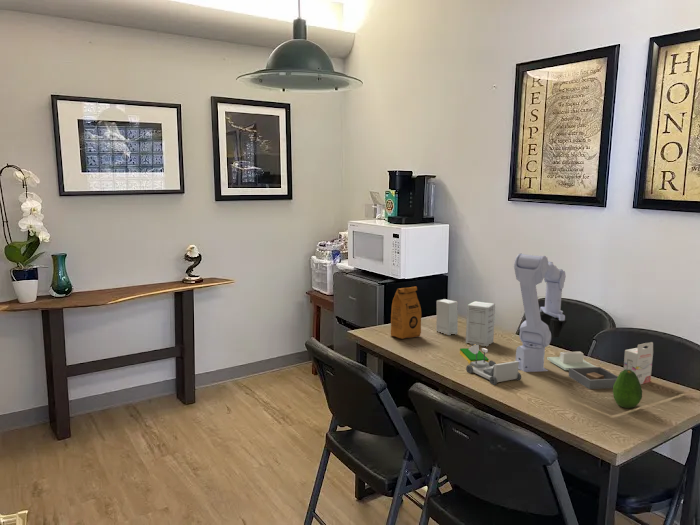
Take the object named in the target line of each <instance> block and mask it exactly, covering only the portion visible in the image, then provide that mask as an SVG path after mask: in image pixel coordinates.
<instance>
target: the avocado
mask: <svg viewBox="0 0 700 525" xmlns="http://www.w3.org/2000/svg"><path fill="white" fill-rule="evenodd" d="M617 376H618V377H617V380H616V381H615V383H614V385H613V388H612V394H613V399H614V401H615V403H616V404H617V405H618V407H619V406H620V408H621V407H622V408H625V409H631V408H635V407H636V406H637V405H638V404H639V403H640V402H641V400H642V398H643V389H642V384H640V382H639V379H638V377H637V376H636V374H635V373H634V372H633V371H631V370H628V369H625V370H621V371H620V372H619V374H618V375H617Z"/></svg>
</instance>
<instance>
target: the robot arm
mask: <svg viewBox="0 0 700 525" xmlns="http://www.w3.org/2000/svg"><path fill="white" fill-rule="evenodd" d="M513 268H514V274H515V279H516V280H517V281H518V282H519V285H520V292H521V298H522V299H521V300H522V304H523V305H522V306H523V311H524V315H525V320H524V321H523V322H522V323H521V324H520V326H519V339H520V342H521V343H522V345H519V346H517V347H516V350H515V361H518V362H519V365H518V370H519V371H523V372H524V373H528V372H529V373H532V372H535V373H536V372H548V371H549V369H547V368H545V367H544V366H545V365H544V364H545V351H546V350H545V349H546V347H548V346H549V345H550V344H551V341H552V338H559V337H560V335H561V333H562V329H563V328H564V326H565V324H566V323H567V319H566V315H565V314H563V313H564V311H563V310H561V307H562V296H563V295H562V294H563V293H562V292H563V288H564V286H565V282H566V271H565V270H563V269H560V268H558V267H557V266H556V265H554V262H553V261H549V260H548V257H547V256H546V255H534V254H524V253H518V254H517V255H516V256H515V259H514V264H513ZM543 280H544V283H546V285H545V296H544V297H545V298H544V306H540V304H539V296H538V291H537V290H538V289H537V285H540V284H542V282H543ZM553 317H554V318H553ZM550 323H551V326H552V327H551V328H552V333H551V330H550Z"/></svg>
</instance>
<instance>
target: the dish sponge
mask: <svg viewBox="0 0 700 525" xmlns="http://www.w3.org/2000/svg"><path fill="white" fill-rule="evenodd" d="M469 348H470V347H466V348H465V347H463V348H461V347H460V348H459V354H460V356H461V357H463V358H465V359H466V360H467V361H468V362H467V361H466V362H467V363H468V365H470V362H475V361H476V354H474V353H472V352H471V351H470V350H469ZM465 359H464V360H465ZM481 360H484V352H483V351H480V350H479V351H478V353H477V361H481ZM485 361H486V362H488V363H489V361H490V359H489V358H488V356H486V355H485Z"/></svg>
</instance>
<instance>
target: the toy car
mask: <svg viewBox="0 0 700 525" xmlns="http://www.w3.org/2000/svg"><path fill="white" fill-rule="evenodd" d="M468 348H469V350H470V351H471V352H472V353H474V354H476V361H475V362H470V364H468V365H466V367H465V370H466V371H465V372H466V373H469V374H473V373H475V374H477V375H478V376H481V377H483V378H485V379H487V380H489V384H491V385H493V386H496V385H497V384H498V383H500V382H507V381H510V380H511V381H512V380H516V381H518V380H519V381H521V380H522V374H521V373H520V372H519V369H518V365H519V362H518V361H516V360H514V361H508V362H502V363H496V362H495V361H494V360H488V361H489V363H488V362H486V361H485V356H486V353H489V352H488V350H489V349H488V348H484V347H482V348H481V352H482V353H483V354H484V360H481V361H477V353H478V351H480V346H479V345H473V344H471V346H469V347H468Z"/></svg>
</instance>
